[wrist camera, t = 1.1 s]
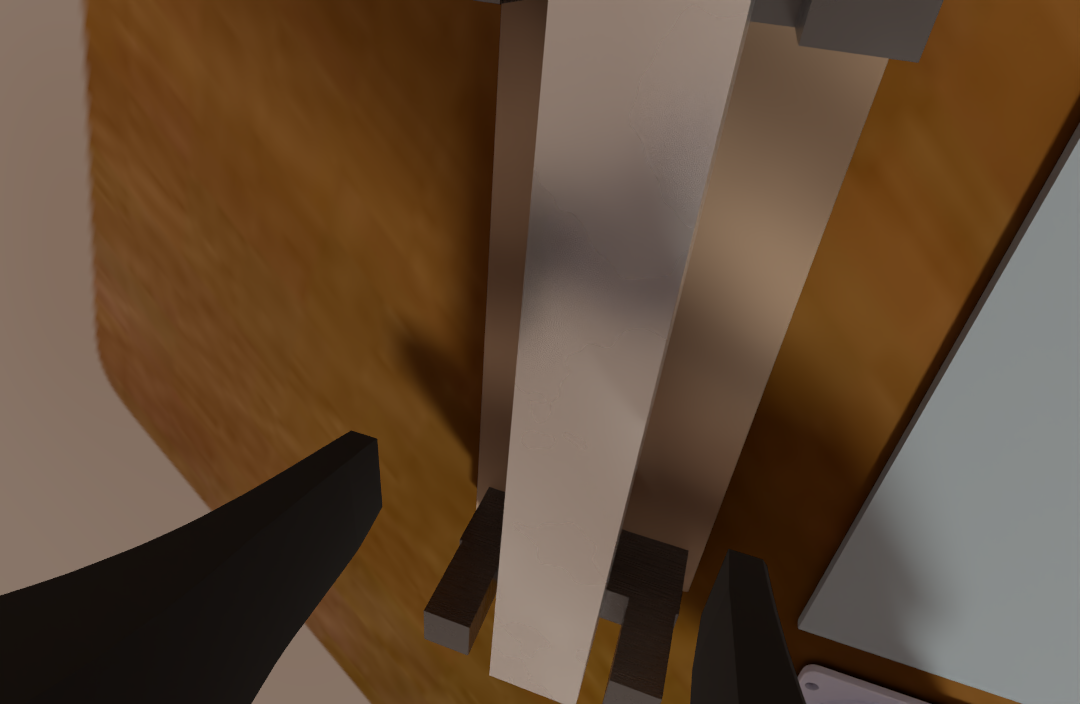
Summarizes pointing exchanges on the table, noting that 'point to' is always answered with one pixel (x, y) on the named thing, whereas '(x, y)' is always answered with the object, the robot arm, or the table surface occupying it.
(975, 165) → the table surface
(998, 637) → the mat
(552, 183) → the rail
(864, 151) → the table surface
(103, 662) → the robot arm
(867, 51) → the rack
